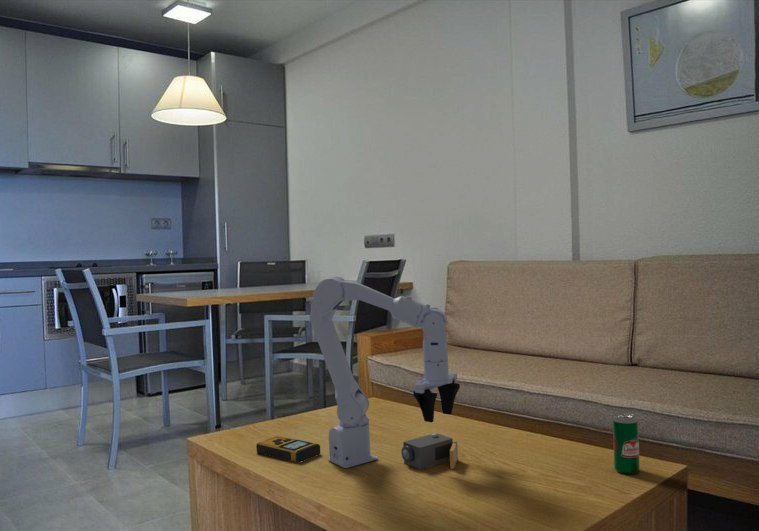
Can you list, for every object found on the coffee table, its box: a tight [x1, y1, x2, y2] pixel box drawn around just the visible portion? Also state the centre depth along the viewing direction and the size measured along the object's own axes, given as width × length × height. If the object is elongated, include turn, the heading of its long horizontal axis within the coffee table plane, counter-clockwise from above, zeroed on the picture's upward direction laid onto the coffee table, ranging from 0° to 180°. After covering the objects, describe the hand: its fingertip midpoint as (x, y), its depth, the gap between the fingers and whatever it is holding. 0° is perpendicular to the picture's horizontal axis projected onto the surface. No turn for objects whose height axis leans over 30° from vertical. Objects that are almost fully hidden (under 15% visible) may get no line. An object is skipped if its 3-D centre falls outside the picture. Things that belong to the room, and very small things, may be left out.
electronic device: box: [255, 435, 321, 463], centre depth 155 cm, size 8×16×3 cm, turn 52°
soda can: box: [612, 412, 641, 475], centre depth 133 cm, size 5×5×12 cm
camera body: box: [400, 432, 454, 471], centre depth 144 cm, size 11×6×6 cm, turn 126°
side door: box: [449, 440, 459, 470], centre depth 142 cm, size 7×1×4 cm, turn 166°
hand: (438, 417), depth 145 cm, fingers open, 7 cm apart
